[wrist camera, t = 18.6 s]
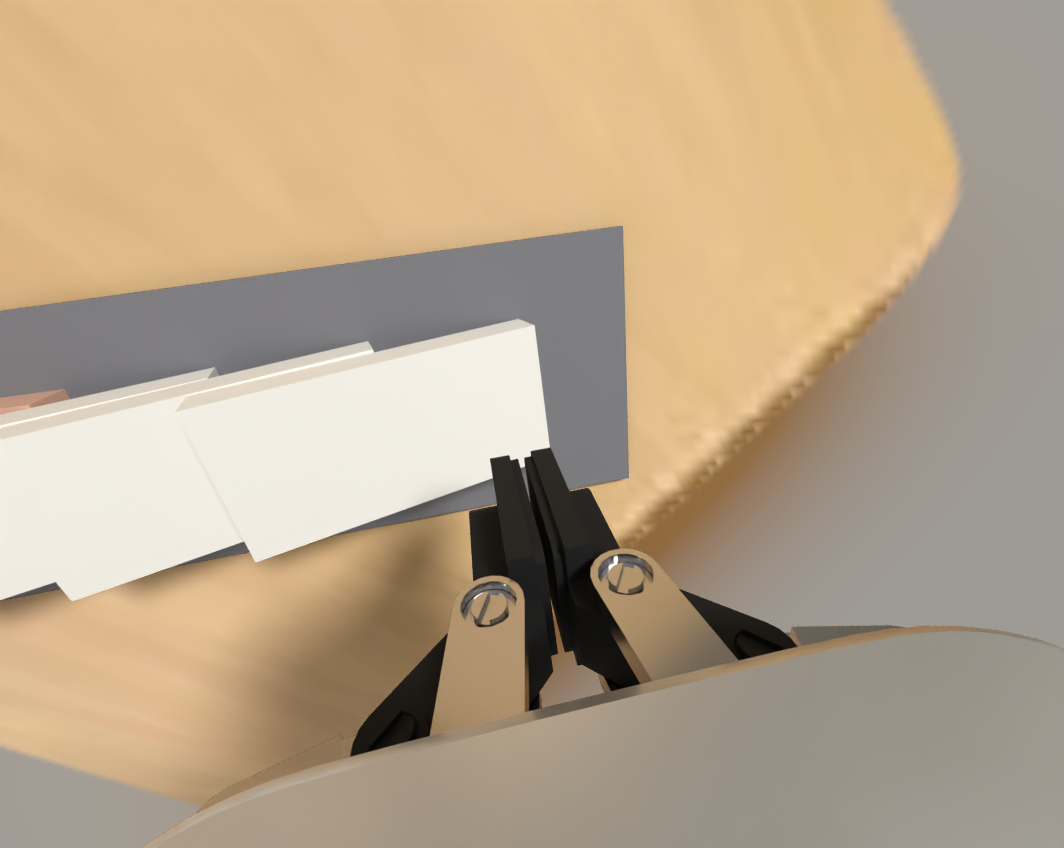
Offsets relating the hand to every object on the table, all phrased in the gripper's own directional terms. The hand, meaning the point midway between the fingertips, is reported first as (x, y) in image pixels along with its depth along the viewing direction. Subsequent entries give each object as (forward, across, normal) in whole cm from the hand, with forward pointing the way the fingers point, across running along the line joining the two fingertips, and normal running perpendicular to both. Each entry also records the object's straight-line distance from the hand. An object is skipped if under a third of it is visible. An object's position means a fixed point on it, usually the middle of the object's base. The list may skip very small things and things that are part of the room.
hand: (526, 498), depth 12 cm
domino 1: (+8, -2, 0) cm, 8 cm away
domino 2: (+8, +5, 0) cm, 9 cm away
